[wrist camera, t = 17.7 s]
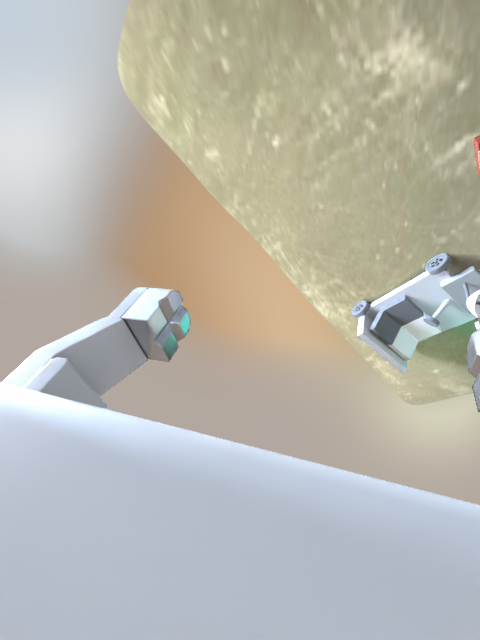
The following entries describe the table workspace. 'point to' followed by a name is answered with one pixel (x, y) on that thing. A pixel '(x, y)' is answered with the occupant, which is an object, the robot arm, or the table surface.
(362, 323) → the toy car
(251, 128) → the table surface
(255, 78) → the table surface
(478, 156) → the matchbox
